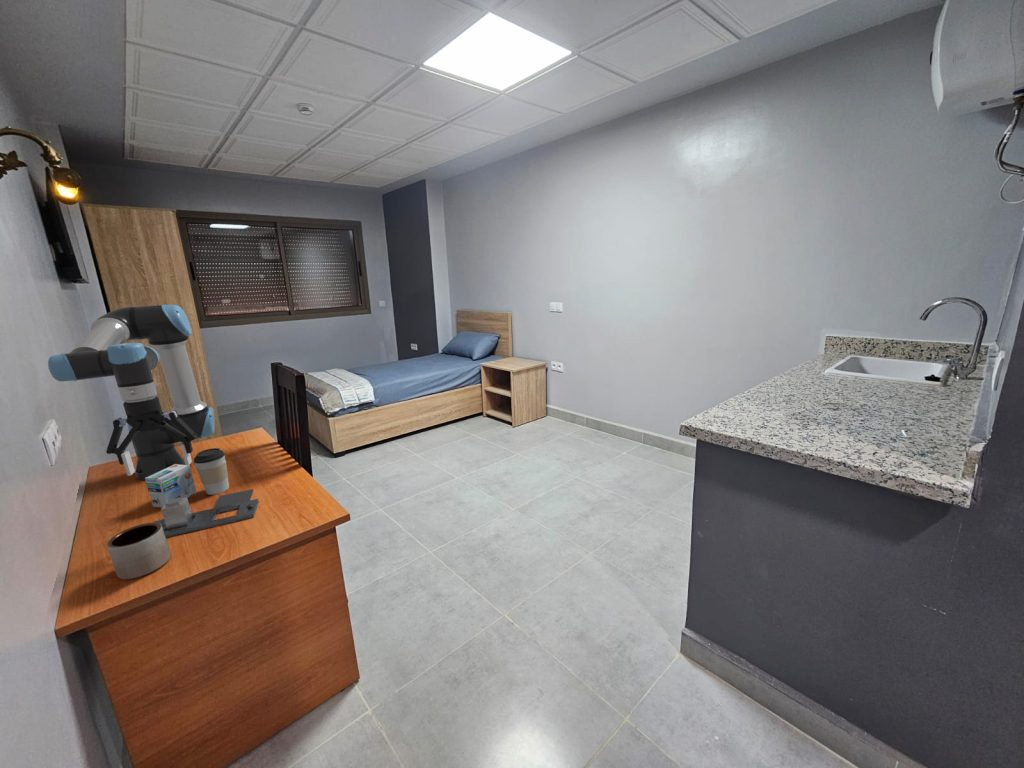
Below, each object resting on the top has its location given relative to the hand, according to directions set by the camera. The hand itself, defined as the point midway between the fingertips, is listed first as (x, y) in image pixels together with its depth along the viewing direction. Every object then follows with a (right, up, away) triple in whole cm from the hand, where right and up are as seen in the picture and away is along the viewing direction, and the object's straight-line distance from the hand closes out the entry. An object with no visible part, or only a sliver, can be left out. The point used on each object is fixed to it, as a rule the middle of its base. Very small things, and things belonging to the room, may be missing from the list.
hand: (160, 468), depth 119 cm
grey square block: (+1, -19, +6) cm, 20 cm away
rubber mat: (+8, -15, +19) cm, 25 cm away
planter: (+6, -24, -12) cm, 27 cm away
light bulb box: (-13, -15, +22) cm, 30 cm away
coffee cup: (-3, -13, +27) cm, 30 cm away
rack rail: (+7, -18, +8) cm, 21 cm away
